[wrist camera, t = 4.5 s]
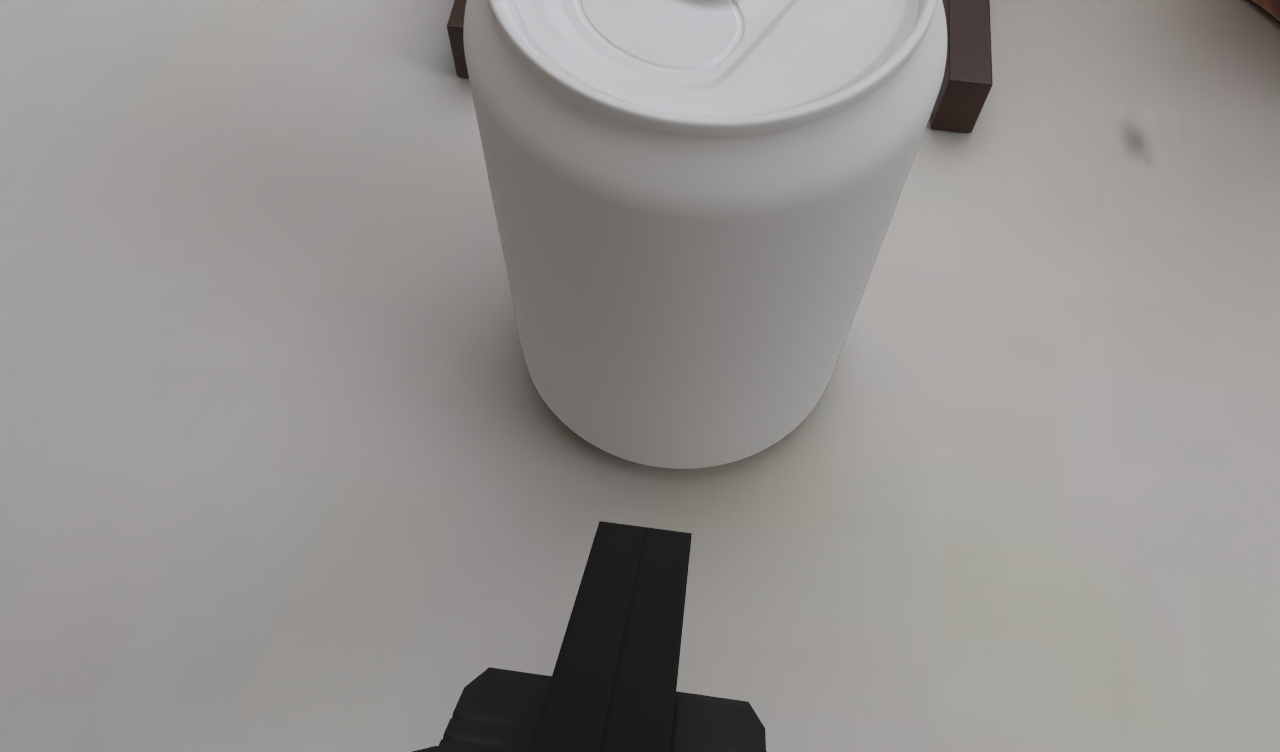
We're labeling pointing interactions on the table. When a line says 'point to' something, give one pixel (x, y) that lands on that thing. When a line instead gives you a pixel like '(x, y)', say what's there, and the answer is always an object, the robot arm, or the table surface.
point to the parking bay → (962, 74)
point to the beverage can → (695, 201)
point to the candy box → (1270, 6)
